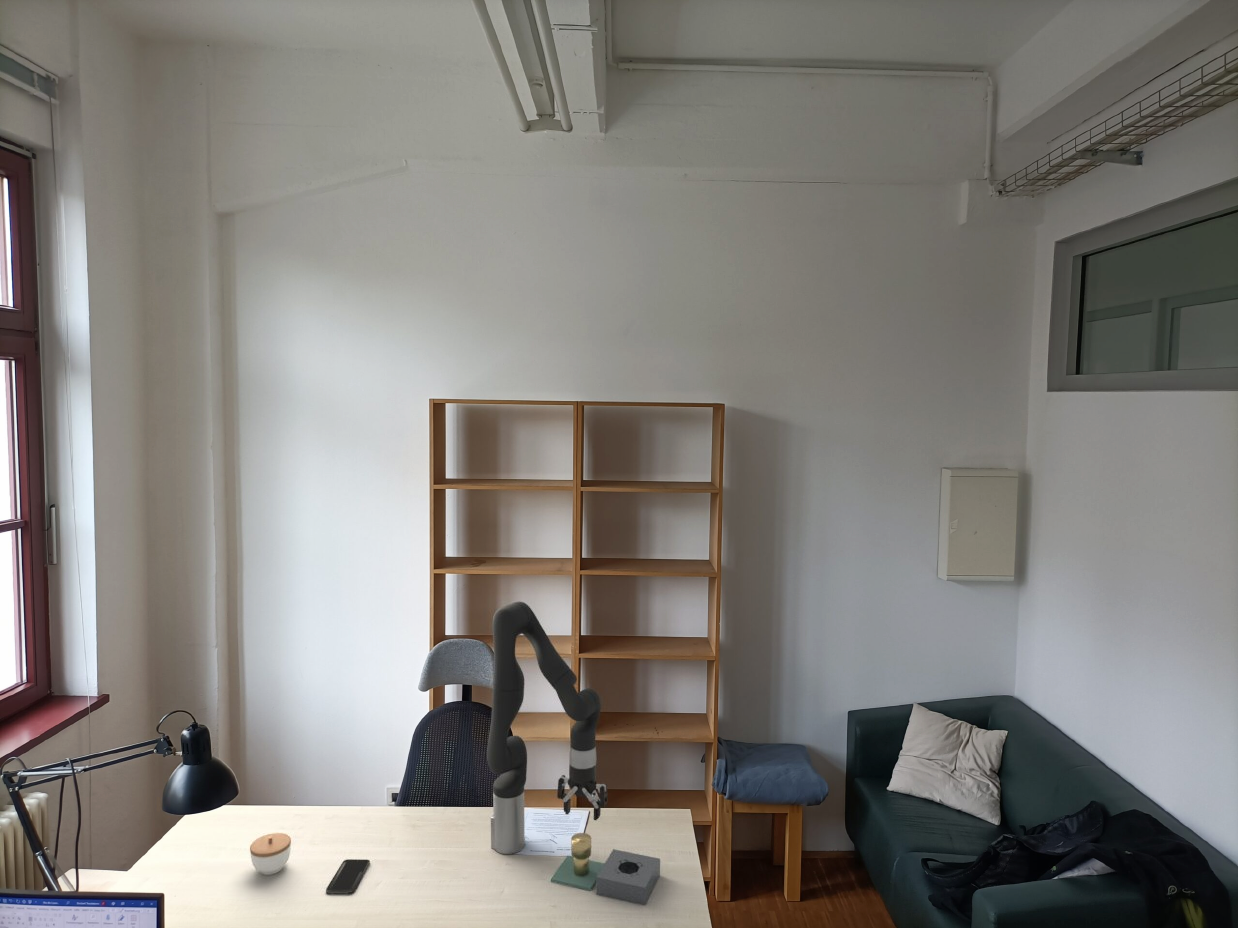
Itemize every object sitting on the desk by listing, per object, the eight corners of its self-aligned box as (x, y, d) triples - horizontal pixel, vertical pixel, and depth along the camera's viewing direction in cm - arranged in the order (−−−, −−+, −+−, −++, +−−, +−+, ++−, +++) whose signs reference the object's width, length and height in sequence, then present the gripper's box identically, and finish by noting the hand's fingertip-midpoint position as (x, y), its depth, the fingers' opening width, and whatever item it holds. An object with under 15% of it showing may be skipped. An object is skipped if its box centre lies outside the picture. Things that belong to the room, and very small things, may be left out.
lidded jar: (270, 854, 235) (269, 824, 234) (299, 861, 231) (298, 831, 230) (242, 875, 225) (240, 843, 224) (272, 883, 221) (271, 851, 220)
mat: (550, 881, 222) (550, 878, 222) (567, 857, 233) (567, 855, 233) (590, 890, 218) (590, 887, 218) (605, 865, 229) (605, 863, 229)
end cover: (568, 875, 224) (568, 841, 223) (576, 864, 229) (575, 831, 228) (587, 879, 222) (586, 845, 221) (594, 867, 227) (594, 834, 226)
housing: (596, 894, 216) (596, 876, 216) (613, 865, 230) (613, 848, 229) (645, 905, 212) (645, 887, 211) (660, 875, 225) (660, 858, 225)
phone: (324, 891, 216) (344, 858, 231) (324, 895, 216) (344, 862, 231) (353, 891, 216) (371, 859, 231) (353, 895, 216) (371, 862, 231)
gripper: (553, 762, 221) (553, 817, 223) (602, 771, 216) (601, 827, 218) (564, 750, 228) (563, 804, 230) (611, 759, 223) (610, 813, 225)
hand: (581, 815), depth 224 cm, fingers open, 8 cm apart
